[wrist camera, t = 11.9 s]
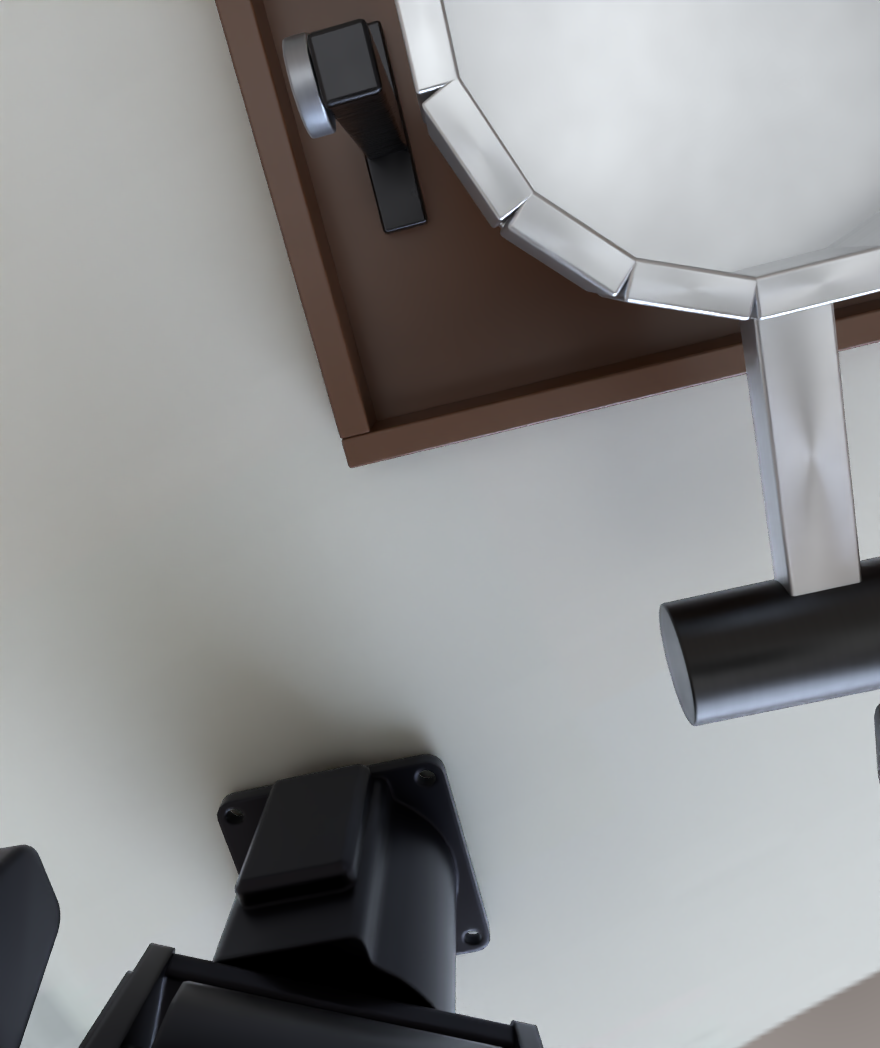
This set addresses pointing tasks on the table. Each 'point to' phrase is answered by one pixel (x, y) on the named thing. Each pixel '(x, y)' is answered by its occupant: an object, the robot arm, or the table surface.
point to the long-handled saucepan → (700, 257)
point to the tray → (447, 279)
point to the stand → (359, 110)
